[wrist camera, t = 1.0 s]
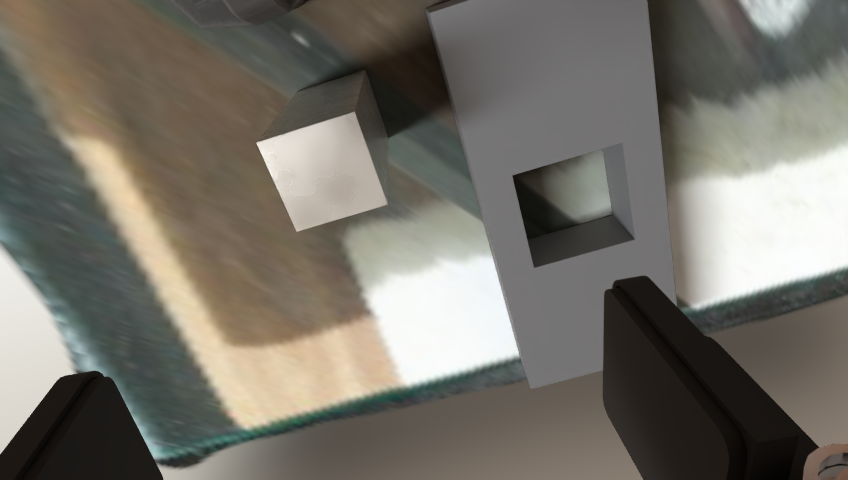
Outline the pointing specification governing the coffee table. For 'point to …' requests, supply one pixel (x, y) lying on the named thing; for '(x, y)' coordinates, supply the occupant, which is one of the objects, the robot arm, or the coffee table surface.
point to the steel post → (329, 152)
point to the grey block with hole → (559, 158)
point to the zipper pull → (234, 11)
